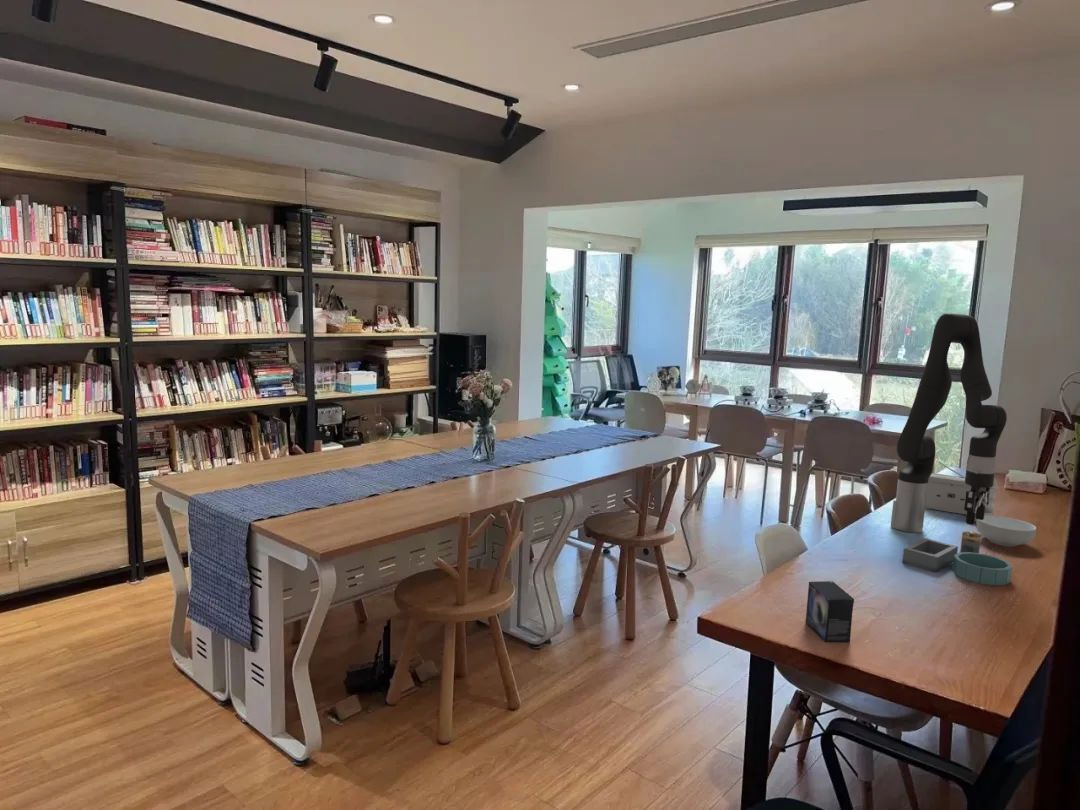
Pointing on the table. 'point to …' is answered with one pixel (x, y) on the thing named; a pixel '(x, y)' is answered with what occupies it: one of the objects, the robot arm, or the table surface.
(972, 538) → the cell
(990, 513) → the plastic bottle
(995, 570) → the cup
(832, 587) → the small box
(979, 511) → the robot arm
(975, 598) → the table surface
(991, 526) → the cereal bowl
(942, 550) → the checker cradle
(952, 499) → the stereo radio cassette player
